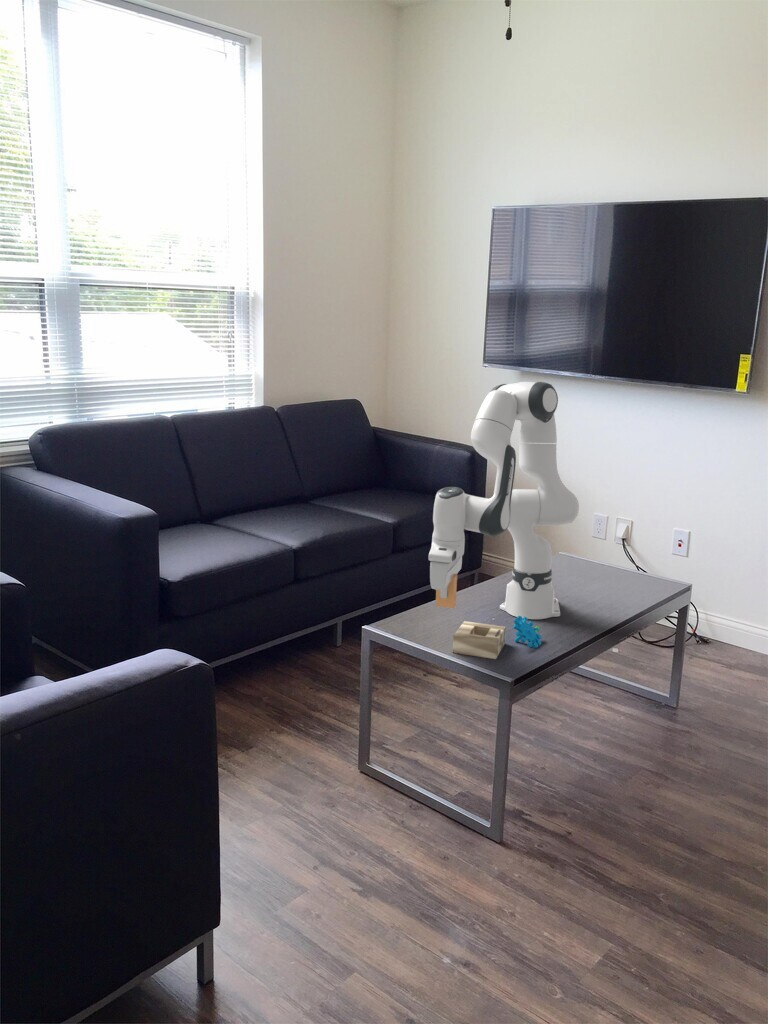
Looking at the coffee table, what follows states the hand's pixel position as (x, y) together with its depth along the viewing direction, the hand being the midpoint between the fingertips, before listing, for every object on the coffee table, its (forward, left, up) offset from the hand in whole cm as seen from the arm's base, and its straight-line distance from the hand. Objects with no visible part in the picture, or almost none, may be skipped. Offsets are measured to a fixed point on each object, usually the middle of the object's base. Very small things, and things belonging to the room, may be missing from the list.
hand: (446, 594), depth 239 cm
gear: (-9, +22, -15) cm, 28 cm away
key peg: (0, 0, -3) cm, 3 cm away
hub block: (0, +10, -14) cm, 17 cm away
